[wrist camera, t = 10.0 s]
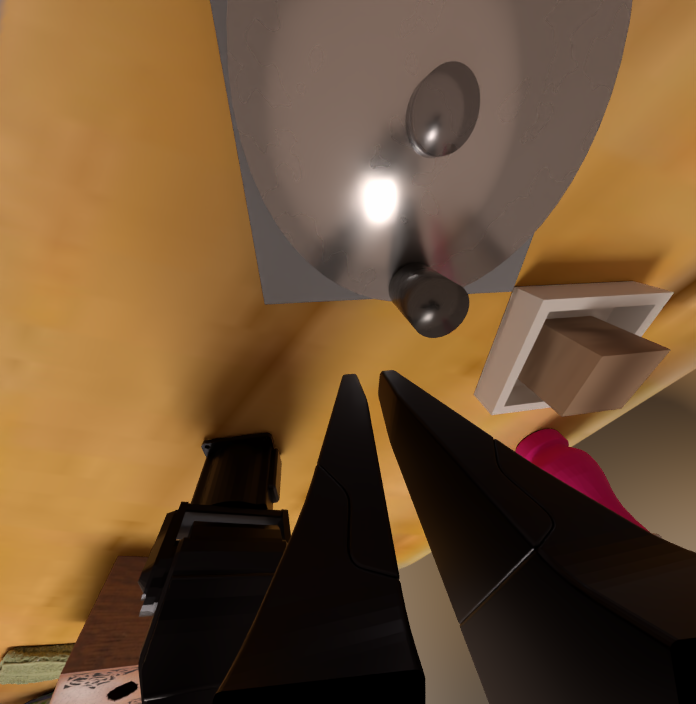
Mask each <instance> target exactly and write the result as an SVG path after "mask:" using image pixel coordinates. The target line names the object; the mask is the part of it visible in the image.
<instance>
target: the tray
mask: <svg viewBox="0 0 696 704" xmlns="http://www.w3.org/2000/svg"><path fill="white" fill-rule="evenodd" d="M673 293H674V292H671V291H668V290H664V289H660V288H657V287H653V286H649V285H646V284H642V283H638V282H635V281H622V282H602V283H582V284H562V285H542V286H522V287H514V289H513V292H512V295H511V297H510V300H509V302H508V305H507V308H506V310H505V313H504V316H503V318H502V321H501V324H500V326H499V329H498V332H497V334H496V337H495V340H494V342H493V345H492V348H491V350H490V353H489V356H488V358H487V361H486V364H485V366H484V369H483V372H482V374H481V377H480V380H479V382H478V385H477V388H476V390H475V393H474V395H475V397H476V398H477V399H478V400H479V401H480V402H481V404H482V405H483V406H484V407H485V408H486V409H487V411H488V412H489V413H490V414H491V415H496V414H503V413H511V412H519V411H526V410H534V409H542V408H549V407H550V406H549V405H548V404H546V403H545V402H544V401H543V400H542V399H541V398H539V397H538V396H537V395H536V394H535V393H534V392H532V391H531V390H530V389H529V388H528V387H527V386H525V385H524V384H523V383H522V382H521V381H520V380H518V379H517V378H518V376H519V374H520V372H521V370H522V368H523V366H524V364H525V362H526V360H527V357H528V355H529V353H530V351H531V349H532V347H533V345H534V343H535V341H536V339H537V337H538V335H539V332H540V330H541V328H542V326H543V324H544V322H545V320H546V319H553V318H567V317H582V316H593V317H596V318H598V319H600V320H603V321H605V322H607V323H610V324H612V325H614V326H617V327H619V328H621V329H624V330H626V331H628V332H631V333H633V334H635V335H638V336H640V337H641V336H642V335H643V334H644V332H645V331H646V330H647V328H648V327H649V326H650V324H651V323H652V322H653V320H654V319H655V317H656V316H657V315H658V313H659V312H660V311H661V309H662V308H663V307H664V305H665V304H666V303H667V301H668V300H669V298H670V297H671V296H672V294H673Z"/></svg>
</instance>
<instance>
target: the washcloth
mask: <svg viewBox="0 0 696 704" xmlns="http://www.w3.org/2000/svg"><path fill="white" fill-rule="evenodd" d="M74 645H75V643H73V644H62V645H49V646H36V647H17V648H13V650H10V651H8V653H7V654H6V655H5V656H4V658H3V660H2V661H1V662H0V684H7V683H8V684H10V683H11V684H14V683H15V684H28V683H36V682H42V681H47V680H53V679H59V677H60V674H61V672H62V670H63V668H64V666H65V664H66V662H67V660H68V658H69V656H70V653H71V651H72V649H73V647H74Z"/></svg>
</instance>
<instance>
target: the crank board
mask: <svg viewBox="0 0 696 704" xmlns="http://www.w3.org/2000/svg"><path fill="white" fill-rule="evenodd" d="M227 2H228V0H210V3H211V8H212V14H213V19H214V25H215V30H216V36H217V42H218V47H219V53H220V58H221V64H222V69H223V75H224V80H225V86H226V91H227V97H228V103H229V108H230V114H231V119H232V125H233V130H234V136H235V141H236V147H237V153H238V158H239V164H240V169H241V175H242V180H243V186H244V191H245V197H246V202H247V208H248V214H249V219H250V225H251V230H252V236H253V241H254V247H255V252H256V258H257V263H258V269H259V275H260V280H261V286H262V291H263V297H264V302H265V304H283V303H302V302H321V301H340V300H359V299H374V298H370V297H367V296H363V295H360V294H357V293H355V292H353V291H350V290H348V289H346V288H344V287H341V286H340V285H338V284H336V283H335V282H333V281H332V280H330V279H328V278H327V277H325V276H324V275H323V274H321V273H320V272H319V271H318V270H316V269H315V268H314V267H313V266H312V265H310V264H309V263H308V262H307V261H306V260H305V259H304V258H303V257H302V256H301V255H300V254H299V253H298V251H297V250H296V249H295V248H294V247H293V246H292V245H291V243H290V242H289V241H288V239H287V238H286V237H285V235H284V234H283V233H282V231H281V230H280V229H279V227H278V226H277V224H276V222H275V221H274V219H273V217H272V216H271V214H270V212H269V210H268V209H267V207H266V205H265V204H264V202H263V199H262V197H261V195H260V193H259V190H258V188H257V186H256V184H255V181H254V179H253V177H252V175H251V172H250V169H249V166H248V163H247V160H246V157H245V154H244V150H243V147H242V144H241V141H240V136H239V132H238V127H237V123H236V118H235V114H234V109H233V104H232V96H231V88H230V80H229V72H228V61H227V26H226V16H227ZM533 235H534V233H533V234H532V236H531V237H530V238H529V239H528V240H527V241H526V242H525V243H524V244H523V245H522V246H521V247H520V248H519V249H518V250H517V251H516V252H515V253H513V254H512V255H511V256H510V257H509V258H508V259H507V260H505V261H504V262H503V263H501V264H500V265H499V266H498V267H496V268H495V269H494V270H492V271H491V272H489V273H488V274H486V275H484V276H483V277H481V278H480V279H478V280H477V281H475V282H473V283H471V284H469V285H467V286H465V287H463V288H464V289H465V290H466V292H467V294H473V293H492V292H511V291H513V288H514V285H515V283H516V280H517V277H518V275H519V272H520V269H521V267H522V264H523V261H524V259H525V256H526V253H527V251H528V248H529V245H530V243H531V240H532V237H533Z"/></svg>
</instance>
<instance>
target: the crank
mask: <svg viewBox="0 0 696 704" xmlns="http://www.w3.org/2000/svg"><path fill="white" fill-rule="evenodd" d="M631 8H632V0H228V2H227V16H226V26H227V61H228V72H229V80H230V88H231V96H232V104H233V109H234V114H235V118H236V123H237V127H238V132H239V136H240V141H241V144H242V147H243V150H244V154H245V157H246V160H247V163H248V166H249V169H250V172H251V175H252V177H253V179H254V181H255V184H256V186H257V188H258V190H259V193H260V195H261V197H262V199H263V202H264V204H265V205H266V207H267V209H268V210H269V212H270V214H271V216H272V217H273V219H274V221H275V222H276V224H277V226H278V227H279V229H280V230H281V231H282V233H283V234H284V235H285V237H286V238H287V239H288V241H289V242H290V243H291V245H292V246H293V247H294V248H295V249H296V250H297V251H298V253H299V254H300V255H301V256H302V257H303V258H304V259H305V260H306V261H307V262H308V263H309V264H310V265H312V266H313V267H314V268H315V269H316V270H318V271H319V272H320V273H321V274H323V275H324V276H325V277H327V278H328V279H330V280H332V281H333V282H335V283H336V284H338V285H340V286H341V287H344V288H346V289H348V290H350V291H353V292H355V293H357V294H360V295H363V296H367V297H370V298H374V299H379V300H386V301H392V302H393V303H394V304H395V306H396V307H397V308H398V309H399V310H400V312H401V313H402V314H403V315H404V316H405V317H406V319H407V320H408V321H409V322H410V323H411V325H412V326H413V327H414V328H415V329H416V331H417V332H418V333H419V334H421V335H423V336H425V337H429V338H437V337H442V336H444V335H447V334H449V333H450V332H452V331H453V330H455V329H456V328H457V327H458V326H459V325H460V324H461V323H462V321H463V320H464V318H465V317H466V314H467V312H468V308H469V297H468V294H467V292H466V290H465V289H464V288H463V287H465V286H467V285H469V284H471V283H473V282H475V281H477V280H478V279H480V278H481V277H483V276H484V275H486V274H488V273H489V272H491V271H492V270H494V269H495V268H496V267H498V266H499V265H500V264H501V263H503V262H504V261H505V260H507V259H508V258H509V257H510V256H511V255H512V254H513V253H515V252H516V251H517V250H518V249H519V248H520V247H521V246H522V245H523V244H524V243H525V242H526V241H527V240H528V239H529V238H530V237H531V236H532V234H533V233H534V232H535V231H536V230H537V229H538V228H539V227H540V226H541V225H542V223H543V222H544V221H545V219H546V218H547V217H548V215H549V214H550V213H551V212H552V210H553V209H554V208H555V206H556V205H557V204H558V202H559V201H560V199H561V197H562V196H563V194H564V193H565V191H566V190H567V188H568V187H569V185H570V184H571V182H572V180H573V179H574V177H575V175H576V173H577V171H578V170H579V168H580V166H581V164H582V162H583V160H584V159H585V157H586V155H587V153H588V151H589V148H590V146H591V144H592V142H593V140H594V137H595V135H596V133H597V131H598V129H599V127H600V124H601V121H602V118H603V116H604V113H605V110H606V108H607V105H608V102H609V100H610V97H611V94H612V91H613V87H614V84H615V81H616V77H617V74H618V70H619V67H620V64H621V60H622V55H623V51H624V46H625V41H626V37H627V32H628V27H629V22H630V15H631Z"/></svg>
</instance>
